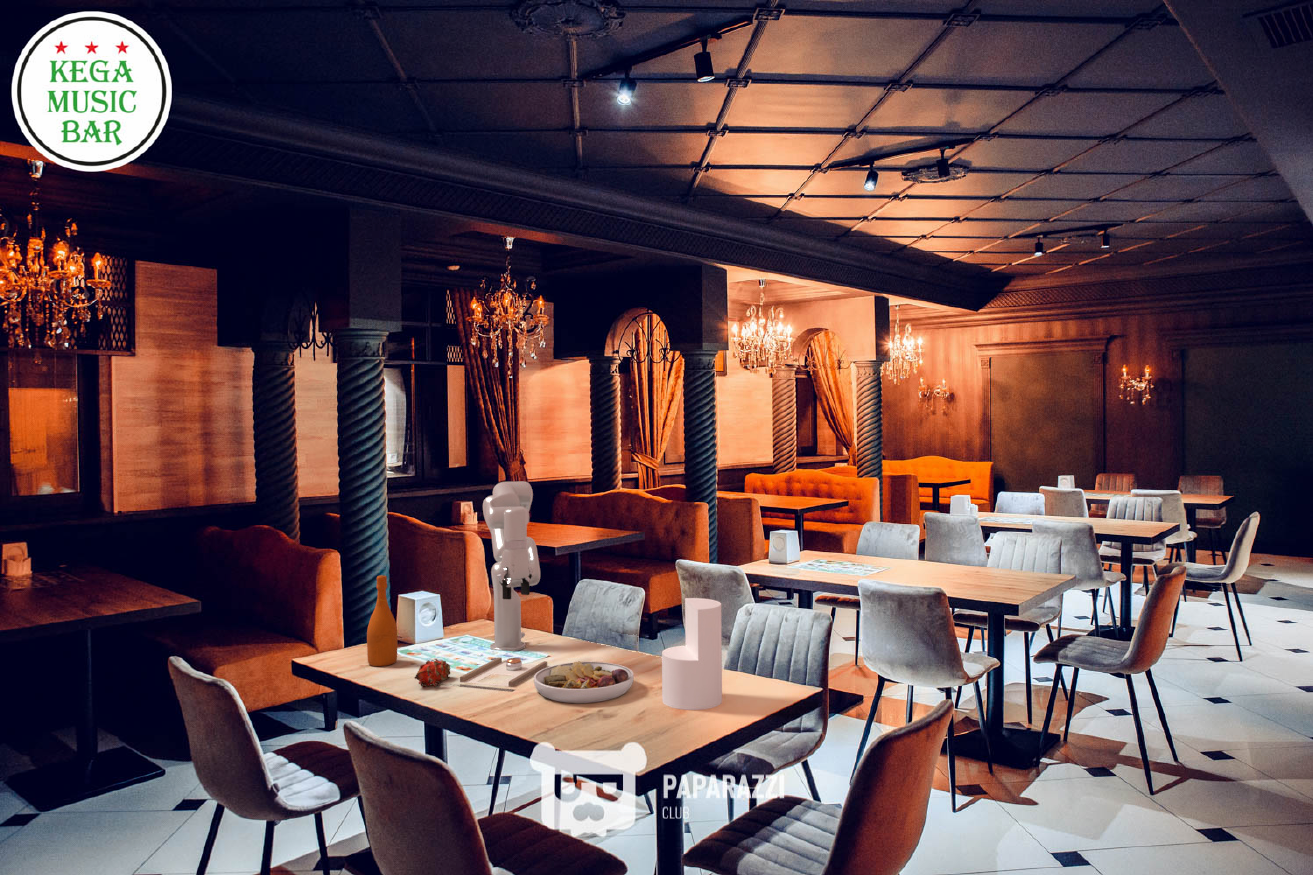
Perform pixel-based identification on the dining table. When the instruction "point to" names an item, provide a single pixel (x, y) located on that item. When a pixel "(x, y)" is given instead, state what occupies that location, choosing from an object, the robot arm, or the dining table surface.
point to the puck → (513, 664)
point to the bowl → (583, 681)
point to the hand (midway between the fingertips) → (516, 596)
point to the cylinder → (695, 660)
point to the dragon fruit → (433, 673)
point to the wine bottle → (382, 630)
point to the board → (500, 669)
